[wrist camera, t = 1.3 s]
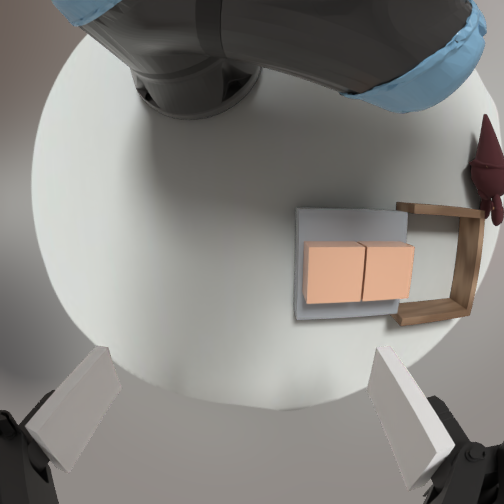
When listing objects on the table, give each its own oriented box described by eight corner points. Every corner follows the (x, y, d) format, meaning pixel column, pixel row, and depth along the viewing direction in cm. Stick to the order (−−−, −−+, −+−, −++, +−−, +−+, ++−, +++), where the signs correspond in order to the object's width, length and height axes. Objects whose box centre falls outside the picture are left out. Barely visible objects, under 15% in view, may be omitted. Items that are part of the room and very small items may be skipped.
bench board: (295, 207, 30) (299, 209, 27) (396, 210, 30) (407, 212, 27) (293, 309, 33) (296, 319, 30) (387, 304, 32) (397, 313, 29)
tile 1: (303, 241, 28) (308, 247, 25) (354, 241, 28) (365, 247, 25) (302, 292, 29) (306, 303, 26) (351, 290, 29) (360, 301, 26)
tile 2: (356, 241, 28) (367, 246, 25) (400, 241, 28) (414, 246, 25) (353, 290, 29) (362, 301, 26) (395, 288, 29) (408, 298, 26)
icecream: (476, 106, 21) (481, 228, 25) (516, 115, 18) (519, 229, 23) (455, 113, 27) (460, 217, 31) (492, 120, 25) (496, 217, 29)
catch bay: (396, 202, 30) (414, 204, 25) (464, 207, 29) (485, 210, 25) (386, 311, 33) (400, 326, 28) (452, 303, 32) (469, 315, 28)
